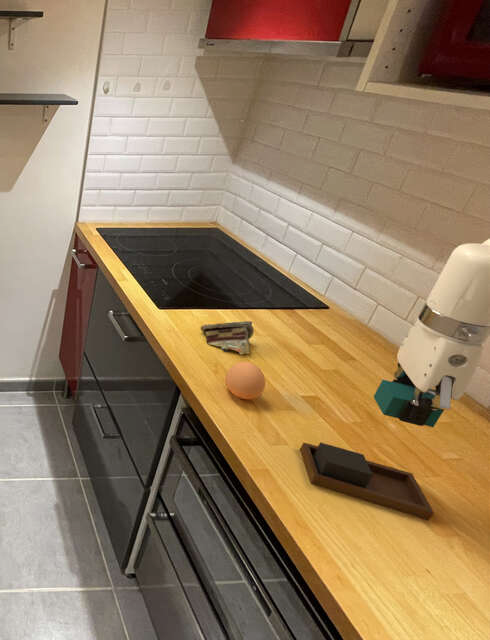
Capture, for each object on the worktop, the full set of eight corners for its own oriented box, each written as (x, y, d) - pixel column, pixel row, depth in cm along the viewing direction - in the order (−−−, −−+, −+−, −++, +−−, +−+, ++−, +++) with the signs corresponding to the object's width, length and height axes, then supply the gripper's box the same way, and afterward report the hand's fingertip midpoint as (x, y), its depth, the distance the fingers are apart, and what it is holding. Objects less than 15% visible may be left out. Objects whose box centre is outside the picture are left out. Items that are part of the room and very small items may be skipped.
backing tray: (407, 480, 81) (412, 473, 80) (428, 520, 74) (434, 512, 73) (299, 449, 86) (303, 442, 86) (310, 483, 80) (314, 476, 79)
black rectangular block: (354, 469, 82) (363, 454, 80) (364, 490, 78) (373, 475, 76) (312, 457, 84) (320, 442, 83) (319, 477, 80) (327, 461, 79)
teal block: (420, 408, 77) (430, 390, 75) (433, 427, 73) (444, 409, 71) (373, 396, 79) (382, 379, 78) (383, 414, 75) (393, 396, 74)
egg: (219, 379, 104) (229, 350, 101) (256, 389, 101) (267, 359, 98) (222, 400, 98) (233, 370, 94) (261, 411, 95) (273, 380, 92)
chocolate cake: (197, 347, 116) (245, 333, 107) (197, 326, 120) (242, 312, 112) (220, 368, 118) (268, 357, 109) (218, 347, 122) (264, 334, 114)
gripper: (523, 362, 60) (458, 457, 68) (456, 301, 74) (409, 385, 82) (450, 347, 63) (395, 440, 70) (399, 291, 77) (358, 373, 84)
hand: (403, 410), depth 76 cm, fingers closed on teal block, 4 cm apart
